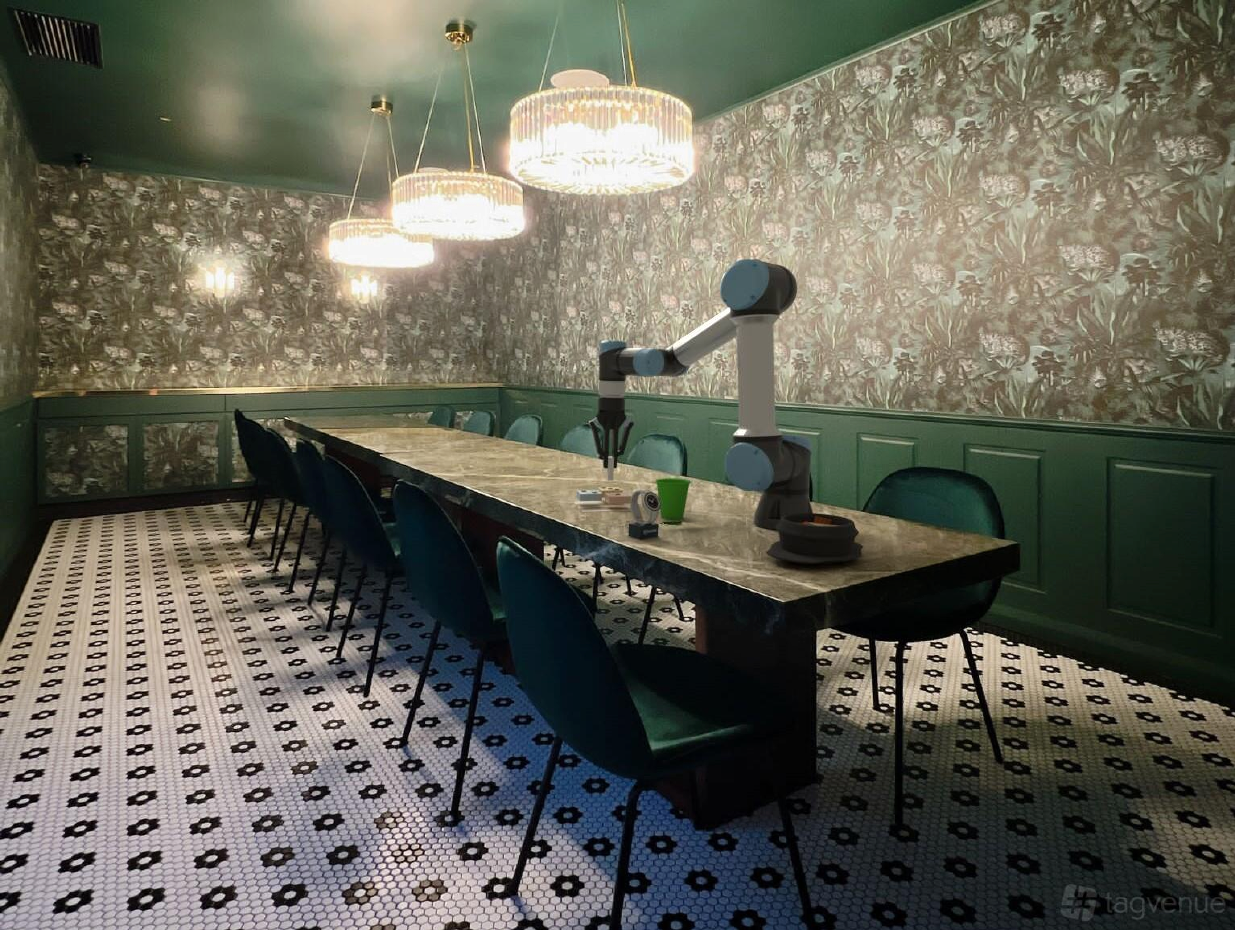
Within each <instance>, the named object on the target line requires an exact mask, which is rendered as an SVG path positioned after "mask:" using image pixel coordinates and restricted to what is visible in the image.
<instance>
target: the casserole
mask: <svg viewBox="0 0 1235 930" xmlns="http://www.w3.org/2000/svg"><path fill="white" fill-rule="evenodd" d="M776 529H777V532H778V537H779V540H778V541H775V542H773V543H772V544H771V545H770V548H769V549H767V550H766V552H765V554H766V555H768V556H769V557H772V558H775V559H778V560H782V561H785V562H790V563H791V562H792V563H798V564H808V565H836V564H839V563H843V562H845V561H852V560H856V559H858V558H860V557H861V556H862V555H863V554H862V553H863V551H862V550H863V549H864V546H863V545H862V543H858V542H855V540H856V537H857V536H858V535H860V531H859V530H858V529H857V527H856V524H855V521H854V520H853V519H851V518H847V517H845V516H844V517H843V516H840V515H834V514H828V513H827V514H826V513H818V512H817V513H816V512H815V513H814V512H813V513H796V514H789V515H785V516H782V517H781V519H780V522H779V524H778V525H776ZM776 529H775V530H776Z"/></svg>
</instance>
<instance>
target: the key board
mask: <svg viewBox="0 0 1235 930" xmlns="http://www.w3.org/2000/svg"><path fill="white" fill-rule="evenodd" d="M571 501H572V502H573V503H574V505H575V506H577V508H578V509H579V510H580V511H581V512H583V513H587V512H589V513H591V512H593V513H594V512H631V508H630V504H608V503H607V502H606V501H605V498H602V501H579V500H578V499H577V498H572V499H571Z"/></svg>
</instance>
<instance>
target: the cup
mask: <svg viewBox="0 0 1235 930" xmlns="http://www.w3.org/2000/svg"><path fill="white" fill-rule="evenodd" d="M654 481H655V483H656V487H657V489H656V490H657V496H658V497H659V499H660V500H661V508H660V510H659V513H660V516H661V517H660V518H662V520H663V519H664V520H673V521H662V524H663V523H664V524H663V525H666V524H667V526H680V525H682V523H683V521H682V520H683V519H684V515H685V509H686V504H687V498H688V493H689V489H690V484H691V483H692V482H691V480H690V479H686V478H685V479H684V478H676V477H675V478H674V477H672V478H671V477H669V478H668V477H666V478H664V477H663V478H656V479H655V480H654ZM679 520H681V521H679Z"/></svg>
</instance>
